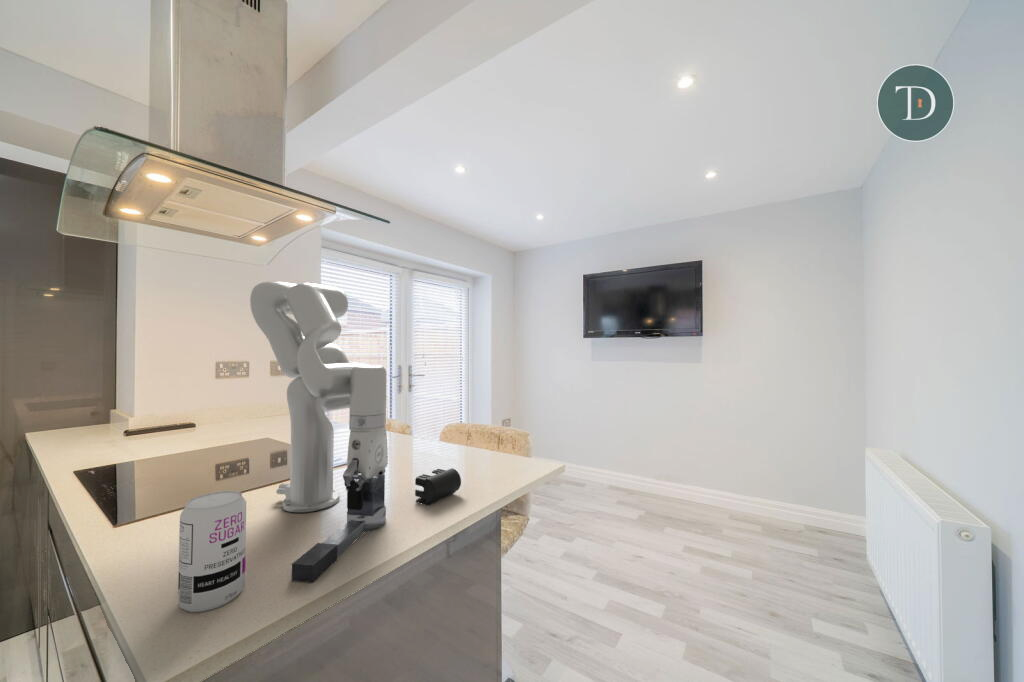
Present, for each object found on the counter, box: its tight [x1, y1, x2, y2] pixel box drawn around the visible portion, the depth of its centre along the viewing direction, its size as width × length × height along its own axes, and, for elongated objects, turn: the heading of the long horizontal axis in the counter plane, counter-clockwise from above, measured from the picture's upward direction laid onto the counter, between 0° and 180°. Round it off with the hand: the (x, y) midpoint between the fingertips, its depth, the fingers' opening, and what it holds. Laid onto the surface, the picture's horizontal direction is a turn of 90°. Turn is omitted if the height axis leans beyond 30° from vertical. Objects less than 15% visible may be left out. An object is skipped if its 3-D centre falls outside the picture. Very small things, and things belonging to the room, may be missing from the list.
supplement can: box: [177, 490, 247, 613], centre depth 61 cm, size 8×8×15 cm
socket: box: [347, 473, 386, 516], centre depth 86 cm, size 6×6×7 cm
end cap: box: [414, 467, 462, 506], centre depth 101 cm, size 10×7×7 cm
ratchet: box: [291, 504, 387, 584], centre depth 77 cm, size 8×26×8 cm, turn 173°
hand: (366, 499), depth 86 cm, fingers open, 9 cm apart
